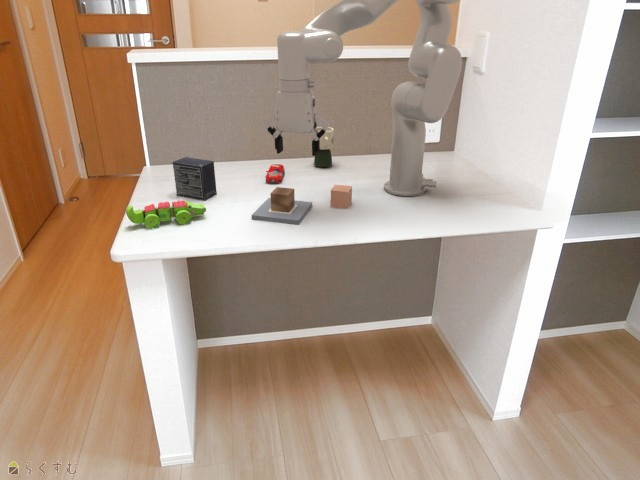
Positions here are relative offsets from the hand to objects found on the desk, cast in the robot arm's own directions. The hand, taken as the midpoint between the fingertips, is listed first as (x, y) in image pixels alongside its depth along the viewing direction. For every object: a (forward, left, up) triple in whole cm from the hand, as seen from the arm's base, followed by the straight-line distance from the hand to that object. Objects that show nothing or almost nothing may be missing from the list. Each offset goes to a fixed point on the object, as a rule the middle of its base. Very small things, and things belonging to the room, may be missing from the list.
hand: (297, 153), depth 130 cm
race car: (+15, -24, -17) cm, 33 cm away
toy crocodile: (+31, +16, -17) cm, 38 cm away
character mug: (+4, -40, -16) cm, 44 cm away
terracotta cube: (-10, -7, -16) cm, 21 cm away
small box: (+33, -3, -16) cm, 37 cm away
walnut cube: (+4, +3, -15) cm, 15 cm away
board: (+4, +3, -16) cm, 17 cm away
